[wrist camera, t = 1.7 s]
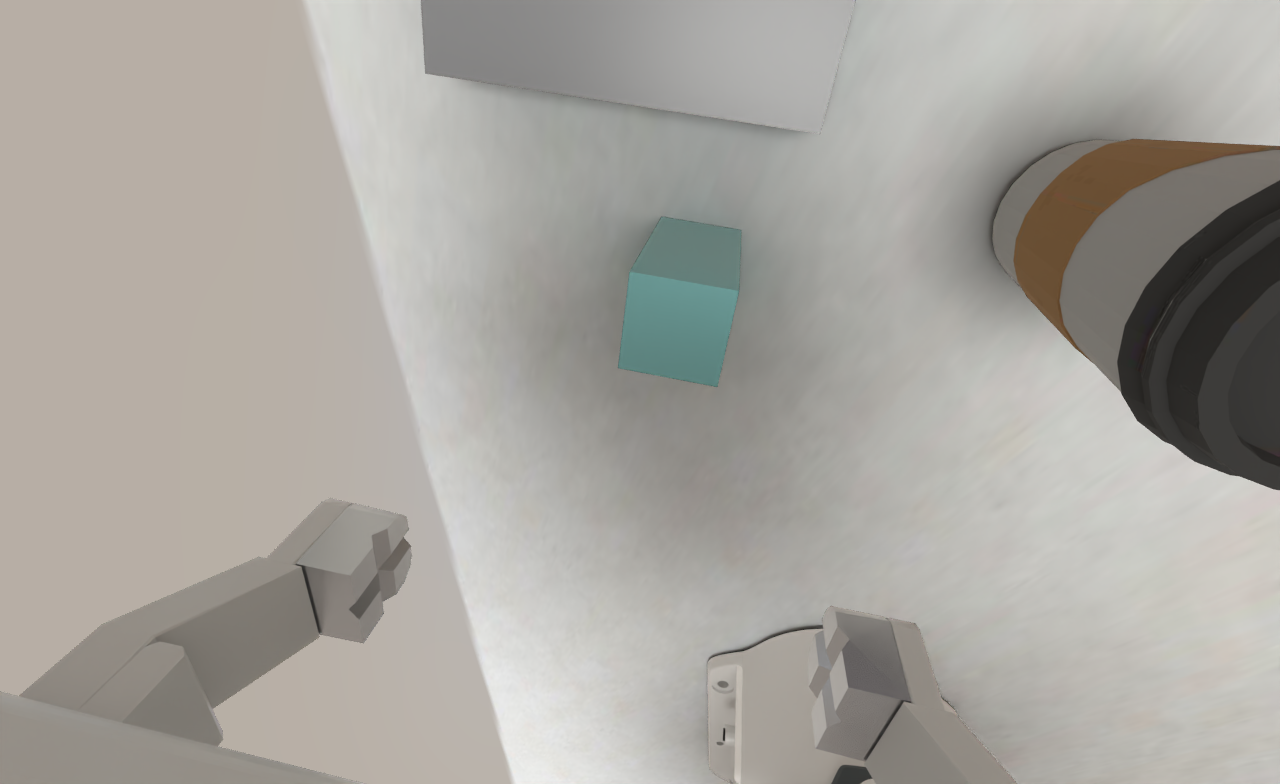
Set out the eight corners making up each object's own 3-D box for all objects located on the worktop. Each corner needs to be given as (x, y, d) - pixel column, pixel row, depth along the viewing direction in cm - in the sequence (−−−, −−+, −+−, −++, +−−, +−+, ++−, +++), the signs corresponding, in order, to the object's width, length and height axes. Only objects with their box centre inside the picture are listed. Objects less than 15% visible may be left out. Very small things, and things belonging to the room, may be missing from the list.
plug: (725, 305, 30) (717, 387, 22) (651, 292, 30) (617, 368, 22) (741, 230, 28) (739, 291, 20) (661, 216, 28) (629, 271, 20)
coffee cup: (947, 304, 28) (1119, 502, 15) (985, 118, 24) (1263, 172, 11) (1139, 303, 27) (1510, 521, 14) (1214, 104, 23) (1839, 148, 10)
